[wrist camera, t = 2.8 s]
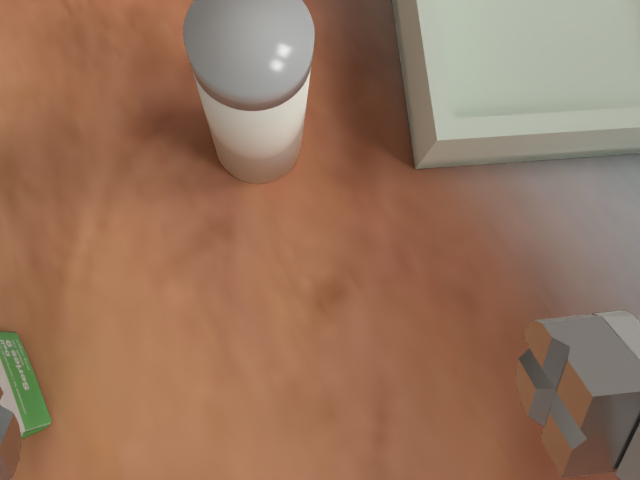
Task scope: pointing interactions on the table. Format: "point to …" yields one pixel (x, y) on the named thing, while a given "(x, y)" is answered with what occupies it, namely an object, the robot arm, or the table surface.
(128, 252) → the table surface
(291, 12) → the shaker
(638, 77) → the sage tray
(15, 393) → the ink box
